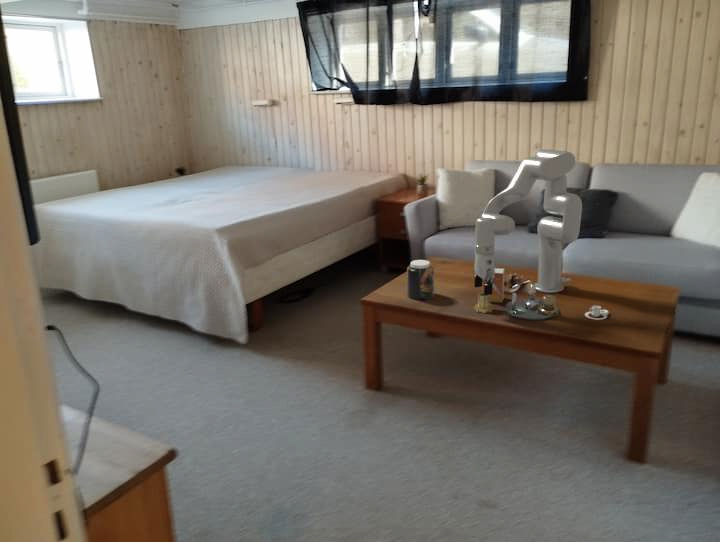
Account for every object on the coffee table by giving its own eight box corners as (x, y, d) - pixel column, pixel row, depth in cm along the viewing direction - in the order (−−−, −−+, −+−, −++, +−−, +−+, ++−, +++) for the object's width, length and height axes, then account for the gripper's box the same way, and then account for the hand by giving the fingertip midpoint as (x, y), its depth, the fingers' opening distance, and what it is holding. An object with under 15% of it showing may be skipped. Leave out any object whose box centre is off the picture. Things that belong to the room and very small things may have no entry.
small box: (482, 301, 250) (483, 272, 246) (484, 296, 255) (484, 267, 251) (502, 303, 247) (503, 273, 243) (503, 297, 253) (504, 268, 249)
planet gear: (488, 305, 246) (489, 290, 244) (496, 311, 239) (496, 296, 237) (471, 307, 244) (471, 292, 242) (478, 314, 237) (479, 298, 235)
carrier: (542, 299, 249) (542, 280, 247) (567, 316, 230) (569, 296, 228) (497, 304, 245) (497, 286, 243) (519, 323, 227) (520, 303, 224)
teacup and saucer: (607, 313, 233) (608, 303, 232) (610, 321, 225) (611, 311, 224) (583, 312, 235) (584, 302, 234) (586, 320, 227) (586, 310, 226)
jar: (404, 299, 257) (403, 266, 252) (410, 290, 267) (409, 258, 263) (432, 300, 253) (431, 267, 249) (436, 291, 264) (436, 259, 259)
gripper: (503, 254, 226) (501, 296, 231) (484, 243, 242) (483, 283, 247) (484, 255, 225) (482, 298, 230) (467, 244, 241) (466, 284, 246)
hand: (483, 290), depth 239 cm, fingers open, 9 cm apart
